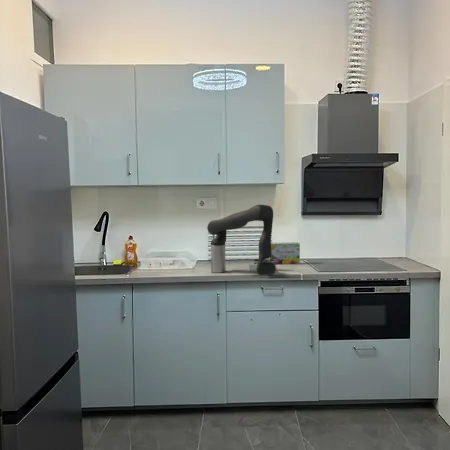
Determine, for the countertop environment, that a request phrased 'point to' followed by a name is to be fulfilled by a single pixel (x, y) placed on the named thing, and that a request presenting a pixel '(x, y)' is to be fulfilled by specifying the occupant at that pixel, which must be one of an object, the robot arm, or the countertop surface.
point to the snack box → (285, 253)
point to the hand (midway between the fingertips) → (263, 259)
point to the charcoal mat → (254, 267)
